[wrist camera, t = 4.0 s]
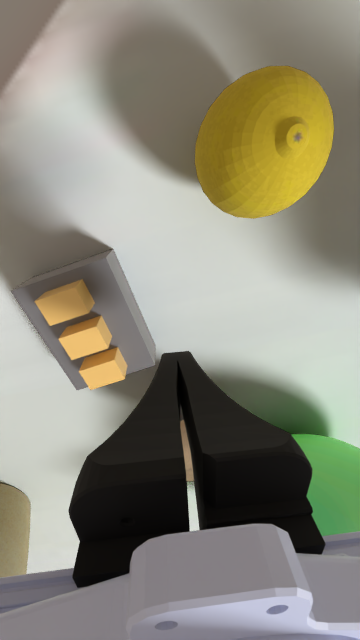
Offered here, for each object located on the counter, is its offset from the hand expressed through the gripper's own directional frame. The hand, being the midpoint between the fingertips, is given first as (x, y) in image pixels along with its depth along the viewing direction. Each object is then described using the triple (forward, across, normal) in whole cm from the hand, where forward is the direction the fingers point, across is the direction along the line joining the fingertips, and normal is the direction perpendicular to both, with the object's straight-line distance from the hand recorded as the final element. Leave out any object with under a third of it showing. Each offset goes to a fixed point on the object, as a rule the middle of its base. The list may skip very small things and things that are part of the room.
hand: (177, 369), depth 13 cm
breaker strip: (+8, +5, 0) cm, 9 cm away
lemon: (+8, -4, -9) cm, 13 cm away
